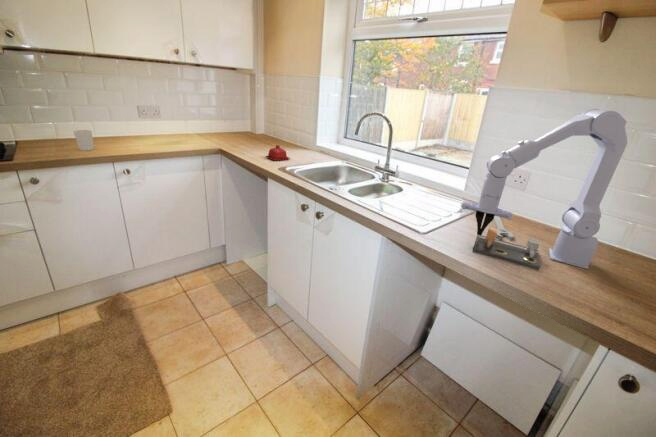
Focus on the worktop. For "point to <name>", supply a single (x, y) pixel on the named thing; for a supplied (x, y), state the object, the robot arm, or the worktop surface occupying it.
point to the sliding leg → (491, 236)
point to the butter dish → (277, 154)
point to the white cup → (84, 139)
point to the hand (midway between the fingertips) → (479, 233)
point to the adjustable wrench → (501, 229)
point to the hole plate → (510, 251)
